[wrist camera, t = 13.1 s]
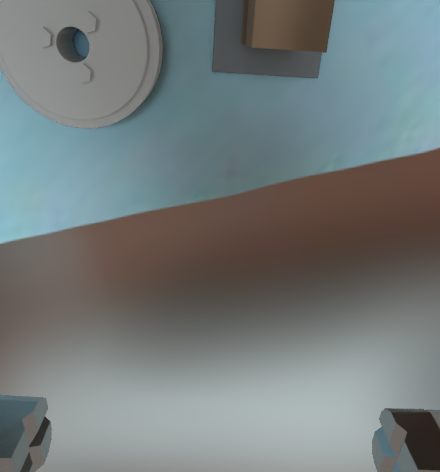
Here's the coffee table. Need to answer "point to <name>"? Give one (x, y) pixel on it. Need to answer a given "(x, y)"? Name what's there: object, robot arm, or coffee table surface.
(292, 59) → the rubber pad
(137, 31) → the grey round disc
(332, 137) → the coffee table surface
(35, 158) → the coffee table surface
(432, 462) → the robot arm
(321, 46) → the walnut block
